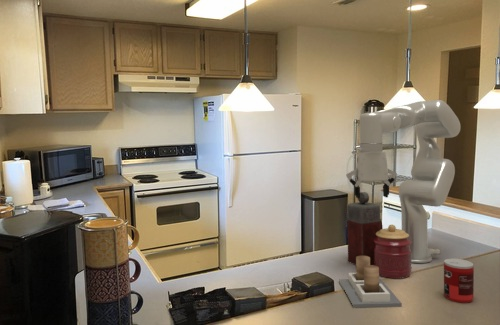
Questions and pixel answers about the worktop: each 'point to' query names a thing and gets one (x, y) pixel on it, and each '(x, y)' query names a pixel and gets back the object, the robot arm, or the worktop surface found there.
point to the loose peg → (371, 279)
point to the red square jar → (362, 228)
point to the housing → (368, 294)
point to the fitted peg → (361, 266)
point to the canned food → (458, 280)
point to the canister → (392, 252)
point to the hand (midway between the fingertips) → (371, 197)
